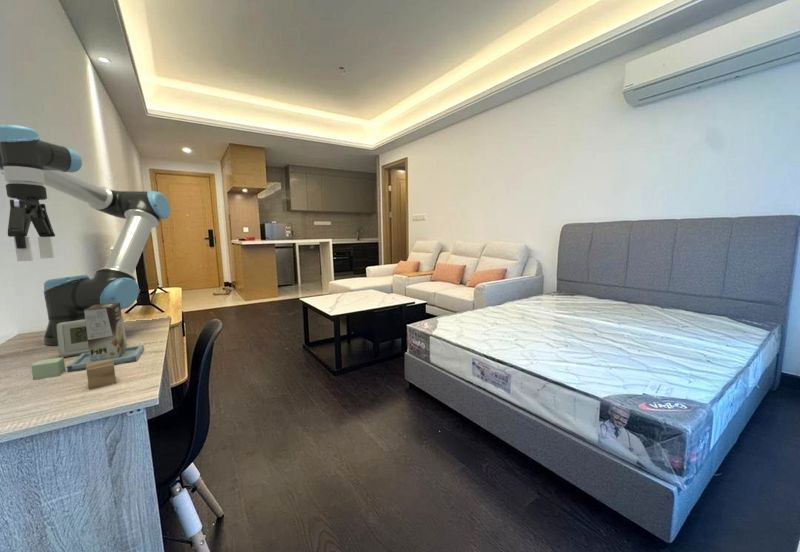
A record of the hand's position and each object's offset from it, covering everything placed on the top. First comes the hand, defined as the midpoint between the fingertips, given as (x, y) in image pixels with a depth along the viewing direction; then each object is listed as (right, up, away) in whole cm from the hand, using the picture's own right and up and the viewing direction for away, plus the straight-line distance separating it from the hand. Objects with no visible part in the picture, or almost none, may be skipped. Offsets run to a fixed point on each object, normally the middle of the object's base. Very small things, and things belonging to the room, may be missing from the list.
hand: (37, 259), depth 95 cm
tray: (+17, -30, +4) cm, 35 cm away
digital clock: (+5, -30, +12) cm, 33 cm away
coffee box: (+17, -30, +4) cm, 35 cm away
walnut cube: (+30, -32, -12) cm, 45 cm away
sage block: (+11, -32, -6) cm, 34 cm away
